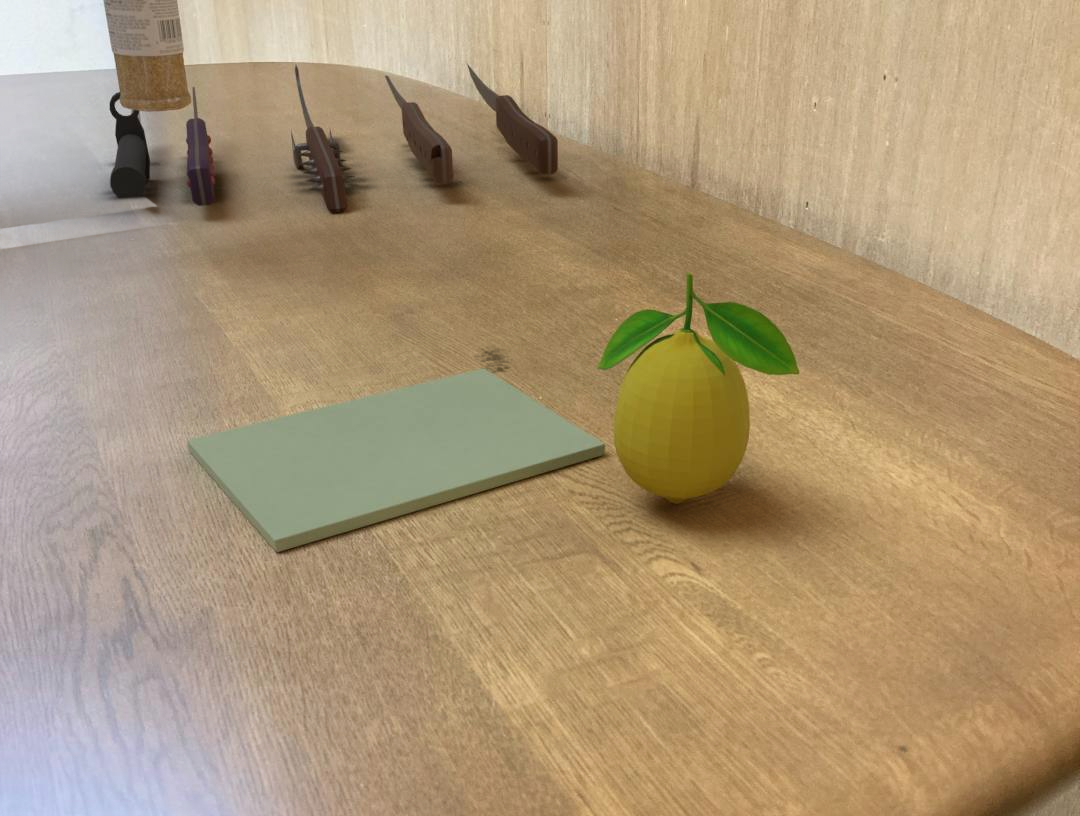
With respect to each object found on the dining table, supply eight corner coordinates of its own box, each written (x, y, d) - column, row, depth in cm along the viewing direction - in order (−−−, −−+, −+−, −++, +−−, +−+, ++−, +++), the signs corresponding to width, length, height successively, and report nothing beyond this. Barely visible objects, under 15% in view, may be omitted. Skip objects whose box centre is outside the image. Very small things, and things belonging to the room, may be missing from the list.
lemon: (781, 528, 47) (809, 290, 42) (650, 553, 45) (663, 309, 40) (706, 459, 52) (723, 242, 47) (587, 479, 50) (591, 256, 45)
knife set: (476, 111, 120) (473, 31, 116) (561, 202, 94) (561, 104, 89) (131, 137, 113) (114, 54, 109) (117, 245, 86) (94, 140, 82)
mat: (276, 553, 45) (274, 540, 45) (188, 450, 53) (186, 439, 53) (605, 455, 53) (605, 443, 52) (484, 378, 61) (484, 367, 60)
